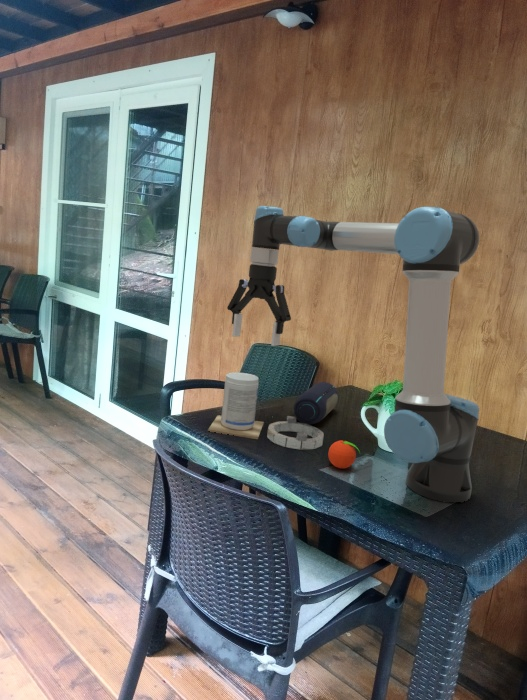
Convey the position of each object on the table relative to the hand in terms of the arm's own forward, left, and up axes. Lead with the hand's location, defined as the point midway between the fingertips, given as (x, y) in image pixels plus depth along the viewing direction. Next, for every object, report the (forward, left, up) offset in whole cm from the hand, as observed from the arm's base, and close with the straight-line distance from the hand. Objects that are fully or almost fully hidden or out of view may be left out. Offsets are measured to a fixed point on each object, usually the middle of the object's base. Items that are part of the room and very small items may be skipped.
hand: (255, 340), depth 160 cm
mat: (-1, +2, -26) cm, 26 cm away
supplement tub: (-1, +2, -25) cm, 25 cm away
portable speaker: (+22, -20, -26) cm, 39 cm away
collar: (-3, -15, -26) cm, 30 cm away
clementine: (-19, -28, -26) cm, 42 cm away
